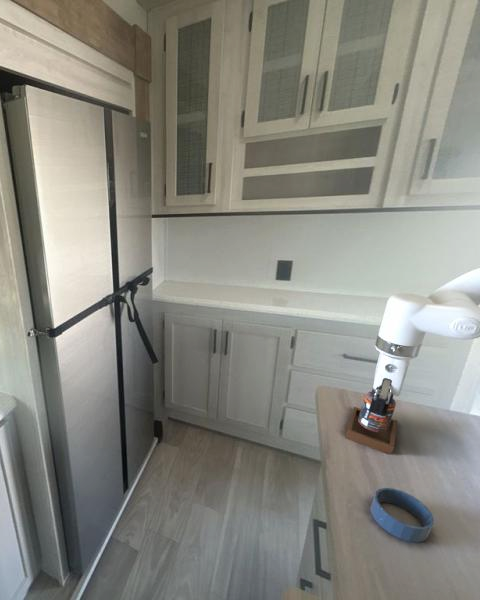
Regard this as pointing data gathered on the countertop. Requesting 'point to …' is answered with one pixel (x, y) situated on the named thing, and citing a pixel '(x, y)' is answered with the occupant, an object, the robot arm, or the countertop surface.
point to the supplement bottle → (372, 419)
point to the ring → (395, 525)
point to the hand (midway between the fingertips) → (378, 405)
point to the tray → (371, 434)
